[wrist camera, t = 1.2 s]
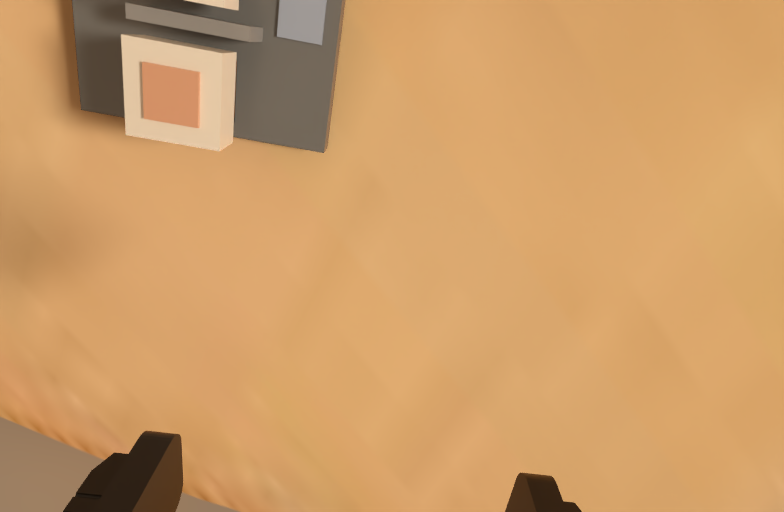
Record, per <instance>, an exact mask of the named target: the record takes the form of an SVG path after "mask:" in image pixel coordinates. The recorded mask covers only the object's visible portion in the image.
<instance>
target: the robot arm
mask: <svg viewBox="0 0 784 512" xmlns="http://www.w3.org/2000/svg"><path fill="white" fill-rule="evenodd" d="M182 487H183V468H182V445H181V436H180V435H179V434H171V433H162V432H153V431H145V432H144V433H142V435H141V436H140V437H139V439H138V440H137V442H136V443H135V445H134V446H133V448H132V450H131V451H130V453H129V454H122V453H113V454H112V455H111V456H110V457H108V458H107V459H106V460H105V461H103V462H102V463H101V464H100V465H98V466H97V467H96V468H94V469H93V470H92V471H91V472H90V474H89V475H88V477H87V478H86V479H85V481H84V482H83V484H82V485H81V487H80V488H79V489H78V491H77V492H76V496H75V497H73V498H72V499H71V501H70V502H69V504H68V505H67V506H66V508H65V509H64V511H63V512H175V511H176V509H177V506H178V503H179V500H180V497H181V493H182ZM505 512H582V511H581V510H580V509H579V508H578V506H577V505H576V504H575V503H573V502H563V500H562V497H561V495H560V492H559V489H558V486H557V484H556V481H555V480H554V478H553V477H552V476H547V475H538V474H528V473H519V474H518V476H517V478H516V481H515V484H514V487H513V490H512V493H511V496H510V499H509V502H508V505H507V508H506V511H505Z"/></svg>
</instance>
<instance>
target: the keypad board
mask: <svg viewBox="0 0 784 512" xmlns="http://www.w3.org/2000/svg"><path fill="white" fill-rule="evenodd" d="M72 5H73V18H74V30H75V42H76V54H77V66H78V78H79V90H80V102H81V110H85V111H90V112H96V113H102V114H107V115H113V116H119V117H124V118H125V109H124V88H123V67H122V46H121V34H137V35H148V36H154V37H159V38H164V39H170V40H175V41H180V42H185V43H191V44H196V45H201V46H207V47H212V48H217V49H223V50H228V51H233V52H237V57H236V61H237V77H236V100H235V118H234V128H233V137H237V138H243V139H248V140H254V141H260V142H265V143H271V144H277V145H282V146H288V147H293V148H299V149H305V150H310V151H316V152H322V153H324V152H325V150H326V149H327V145H328V137H329V129H330V121H331V112H332V104H333V96H334V88H335V80H336V72H337V63H338V55H339V47H340V39H341V31H342V23H343V14H344V6H345V0H239V10H232V9H227V8H221V7H216V6H211V5H206V4H201V3H196V2H191V1H186V0H72Z"/></svg>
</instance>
